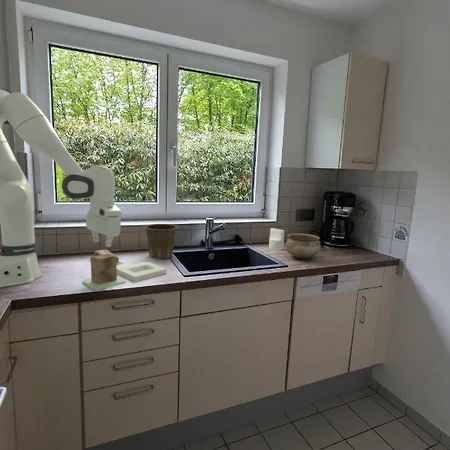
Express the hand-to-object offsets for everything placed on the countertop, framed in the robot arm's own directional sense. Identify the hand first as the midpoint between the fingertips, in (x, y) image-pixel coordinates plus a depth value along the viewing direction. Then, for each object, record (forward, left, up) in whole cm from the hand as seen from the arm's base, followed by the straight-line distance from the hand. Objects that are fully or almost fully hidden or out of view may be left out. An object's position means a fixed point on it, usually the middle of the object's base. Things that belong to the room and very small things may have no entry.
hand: (102, 244), depth 123 cm
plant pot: (+41, +18, -16) cm, 48 cm away
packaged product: (+15, +26, -17) cm, 35 cm away
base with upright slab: (+106, -12, -16) cm, 108 cm away
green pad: (0, 0, -16) cm, 16 cm away
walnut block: (0, 0, -15) cm, 15 cm away
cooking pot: (+98, -34, -16) cm, 105 cm away
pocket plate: (+17, 0, -16) cm, 23 cm away
